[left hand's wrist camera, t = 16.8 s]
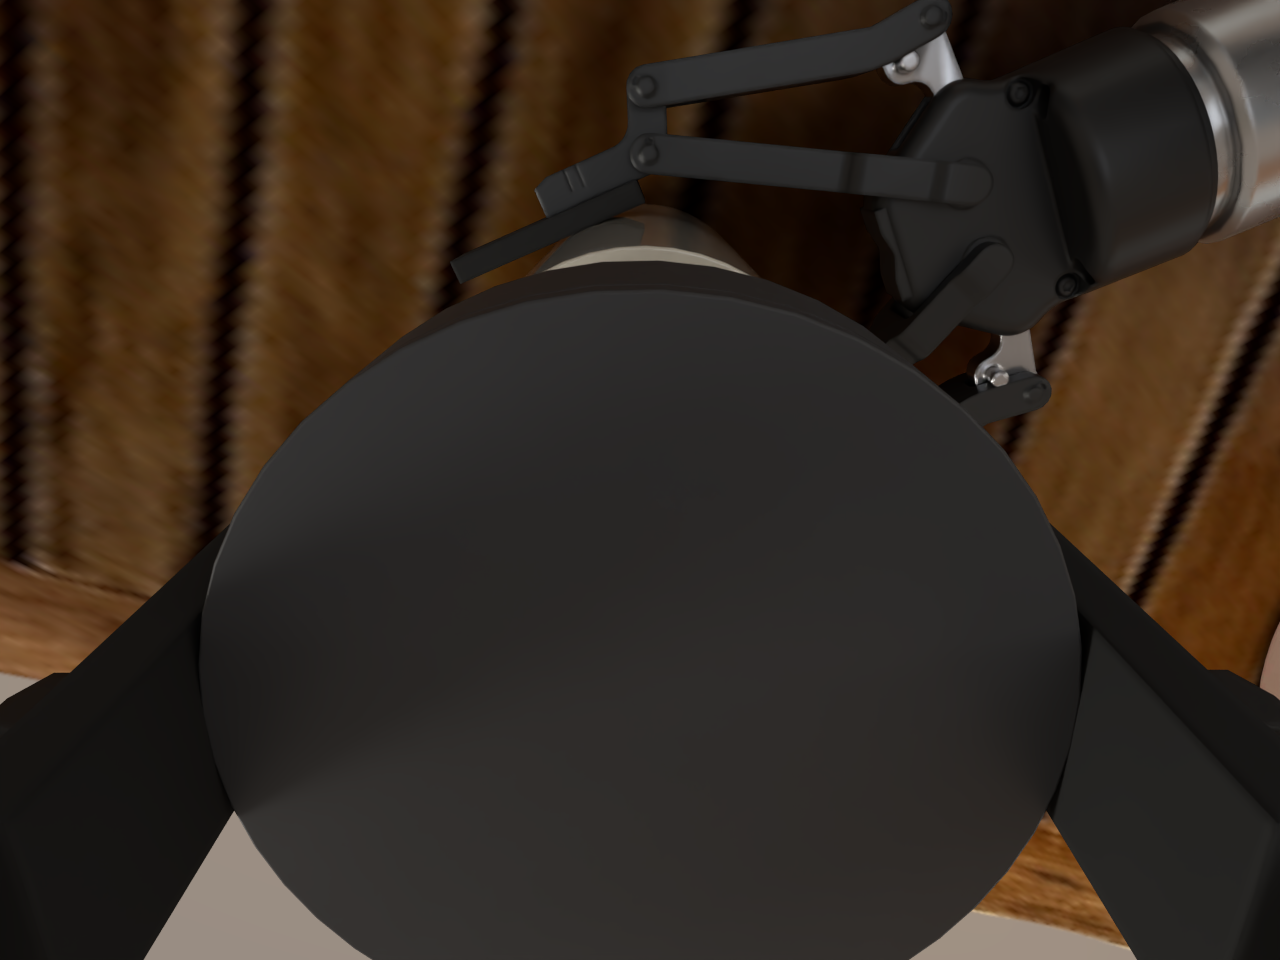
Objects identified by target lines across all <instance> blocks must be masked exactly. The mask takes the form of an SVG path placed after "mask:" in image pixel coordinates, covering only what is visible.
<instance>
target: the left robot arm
mask: <svg viewBox="0 0 1280 960" xmlns="http://www.w3.org/2000/svg"><path fill="white" fill-rule="evenodd" d="M1050 525H1051V524H1050ZM229 526H230V524H229V525H228V526H227V527H226V528H225V529H224V530H223V531H222V532H221V533H220V534H219V535H218V536H217V537H215V538H214V539H213V540H212V541H211V542H210V543H209V544H208V545H207V546H206V547H205V548H204V549H203V550H202V551H200V552H199V553H198V554H197V555H196V556H195V557H194V558H193V559H192V560H191V561H190V562H189V563H188V564H186V565H185V566H184V567H183V568H182V569H181V570H180V571H179V572H178V573H177V574H176V575H175V576H174V577H173V578H171V579H170V580H169V581H168V582H167V583H166V584H165V585H164V586H163V587H162V588H161V589H160V590H159V591H157V592H156V593H155V594H154V595H153V596H152V597H151V598H150V599H149V600H148V601H147V602H146V603H145V604H144V605H142V606H141V607H140V608H139V609H138V610H137V611H136V612H135V613H134V614H133V615H132V616H131V617H130V618H128V619H127V620H126V621H125V622H124V623H123V624H122V625H121V626H120V627H119V628H118V629H117V630H116V631H114V632H113V633H112V634H111V635H110V636H109V637H108V638H107V639H106V640H105V641H104V642H103V643H102V644H101V645H99V646H98V647H97V648H96V649H95V650H94V651H93V652H92V653H91V654H90V655H89V656H88V657H87V658H85V659H84V660H83V661H82V662H81V663H80V664H79V665H78V666H77V667H76V668H75V669H74V670H73V671H72V672H70V673H53V674H51V675H49V676H47V677H45V678H44V679H42V680H40V681H38V682H36V683H35V684H33V685H31V686H29V687H27V688H25V689H24V690H22V691H20V692H18V693H16V694H15V695H13V696H11V697H9V698H7V699H6V700H5V701H4V702H3V703H2V704H0V960H144V958H145V956H146V955H147V953H148V951H149V950H150V948H151V946H152V945H153V943H154V942H155V940H156V938H157V937H158V935H159V933H160V932H161V930H162V928H163V927H164V925H165V923H166V922H167V920H168V918H169V917H170V915H171V913H172V912H173V910H174V909H175V907H176V905H177V904H178V902H179V900H180V899H181V897H182V896H183V894H184V892H185V890H186V889H187V887H188V886H189V884H190V882H191V881H192V879H193V877H194V876H195V874H196V872H197V871H198V869H199V868H200V866H201V864H202V863H203V861H204V859H205V858H206V856H207V854H208V853H209V851H210V849H211V848H212V846H213V844H214V843H215V841H216V840H217V838H218V836H219V834H220V833H221V831H222V830H223V828H224V826H225V825H226V823H227V821H228V820H229V818H230V816H231V815H232V813H233V812H234V809H233V807H232V806H231V803H230V801H229V798H228V796H227V793H226V791H225V788H224V786H223V783H222V781H221V778H220V776H219V773H218V771H217V768H216V766H215V763H214V759H213V755H212V750H211V745H210V741H209V736H208V732H207V727H206V723H205V718H204V713H203V708H202V702H201V692H200V680H199V668H198V662H199V648H200V634H201V621H202V612H203V607H204V603H205V599H206V595H207V591H208V586H209V582H210V578H211V574H212V569H213V565H214V562H215V560H216V557H217V555H218V552H219V550H220V547H221V545H222V543H223V540H224V538H225V535H226V533H227V531H228V528H229ZM1051 527H1052V530H1053V532H1054V534H1055V536H1056V538H1057V540H1058V542H1059V544H1060V546H1061V550H1062V553H1063V556H1064V560H1065V563H1066V567H1067V570H1068V573H1069V577H1070V580H1071V583H1072V587H1073V590H1074V593H1075V598H1076V605H1077V613H1078V621H1079V628H1080V636H1081V644H1082V664H1081V697H1080V702H1079V707H1078V712H1077V717H1076V722H1075V727H1074V731H1073V736H1072V741H1071V746H1070V750H1069V754H1068V757H1067V760H1066V763H1065V766H1064V769H1063V772H1062V775H1061V778H1060V781H1059V784H1058V786H1057V789H1056V792H1055V794H1054V796H1053V798H1052V799H1051V801H1050V803H1049V805H1048V807H1047V809H1046V811H1047V812H1048V814H1049V816H1050V817H1051V819H1052V820H1053V822H1054V824H1055V825H1056V827H1057V829H1058V830H1059V832H1060V834H1061V835H1062V837H1063V839H1064V840H1065V842H1066V844H1067V845H1068V847H1069V848H1070V850H1071V852H1072V853H1073V855H1074V857H1075V858H1076V860H1077V862H1078V863H1079V865H1080V867H1081V868H1082V870H1083V871H1084V873H1085V875H1086V876H1087V878H1088V880H1089V881H1090V883H1091V885H1092V886H1093V888H1094V890H1095V891H1096V893H1097V895H1098V896H1099V898H1100V899H1101V901H1102V903H1103V904H1104V906H1105V908H1106V909H1107V911H1108V913H1109V914H1110V916H1111V918H1112V919H1113V921H1114V923H1115V924H1116V926H1117V927H1118V929H1119V931H1120V932H1121V934H1122V936H1123V937H1124V939H1125V941H1126V942H1127V944H1128V946H1129V947H1130V949H1131V951H1132V952H1133V954H1134V955H1135V957H1136V959H1137V960H1280V700H1279V699H1278V698H1277V697H1276V696H1274V695H1273V694H1271V693H1269V692H1267V691H1265V690H1263V689H1262V688H1260V687H1258V686H1256V685H1254V684H1252V683H1251V682H1249V681H1247V680H1245V679H1243V678H1242V677H1240V676H1238V675H1236V674H1234V673H1232V672H1231V671H1229V670H1207V669H1206V668H1205V667H1204V666H1203V665H1202V664H1201V663H1199V662H1198V661H1197V660H1196V659H1195V658H1194V657H1193V656H1192V655H1191V654H1190V653H1189V652H1188V651H1187V650H1185V649H1184V648H1183V647H1182V646H1181V645H1180V644H1179V643H1178V642H1177V641H1176V640H1175V639H1174V638H1173V637H1172V636H1170V635H1169V634H1168V633H1167V632H1166V631H1165V630H1164V629H1163V628H1162V627H1161V626H1160V625H1159V624H1158V623H1156V622H1155V621H1154V620H1153V619H1152V618H1151V617H1150V616H1149V615H1148V614H1147V613H1146V612H1145V611H1144V610H1143V609H1141V608H1140V607H1139V606H1138V605H1137V604H1136V603H1135V602H1134V601H1133V600H1132V599H1131V598H1130V597H1129V596H1127V595H1126V594H1125V593H1124V592H1123V591H1122V590H1121V589H1120V588H1119V587H1118V586H1117V585H1116V584H1115V583H1113V582H1112V581H1111V580H1110V579H1109V578H1108V577H1107V576H1106V575H1105V574H1104V573H1103V572H1102V571H1101V570H1100V569H1098V568H1097V567H1096V566H1095V565H1094V564H1093V563H1092V562H1091V561H1090V560H1089V559H1088V558H1087V557H1086V556H1084V555H1083V554H1082V553H1081V552H1080V551H1079V550H1078V549H1077V548H1076V547H1075V546H1074V545H1073V544H1072V543H1070V542H1069V541H1068V540H1067V539H1066V538H1065V537H1064V536H1063V535H1062V534H1061V533H1060V532H1059V531H1058V530H1057V529H1055V528H1054V527H1053V526H1052V525H1051Z"/></svg>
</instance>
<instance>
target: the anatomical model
mask: <svg viewBox="0 0 1280 960" xmlns="http://www.w3.org/2000/svg"><path fill="white" fill-rule="evenodd" d="M1260 688H1262V689H1263V690H1265V691H1267V692H1269V693H1271V694H1273V695H1274V696H1276V697H1277V698H1278V699H1279V700H1280V623H1279V624H1278V627H1277V629H1276V632H1275V634H1274V636H1273V639H1272V641H1271V644H1270V647H1269V650H1268V654H1267V657H1266V660H1265V664H1264V668H1263V672H1262V676H1261V682H1260Z"/></svg>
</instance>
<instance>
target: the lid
mask: <svg viewBox="0 0 1280 960" xmlns="http://www.w3.org/2000/svg"><path fill="white" fill-rule="evenodd" d="M1081 664H1082V644H1081V636H1080V628H1079V621H1078V613H1077V605H1076V598H1075V593H1074V590H1073V587H1072V583H1071V580H1070V577H1069V573H1068V570H1067V567H1066V563H1065V560H1064V556H1063V553H1062V550H1061V546H1060V544H1059V542H1058V540H1057V538H1056V536H1055V534H1054V532H1053V530H1052V527H1051V525H1050V523H1049V521H1048V519H1047V517H1046V515H1045V513H1044V511H1043V509H1042V507H1041V505H1040V503H1039V501H1038V498H1037V496H1036V495H1035V494H1034V492H1033V491H1032V489H1031V488H1030V486H1029V485H1028V483H1027V482H1026V481H1025V479H1024V478H1023V476H1022V475H1021V473H1020V472H1019V471H1018V469H1017V468H1016V466H1015V465H1014V463H1013V462H1012V460H1011V459H1010V458H1009V456H1008V455H1007V453H1006V452H1005V450H1004V449H1003V448H1002V447H1001V446H1000V445H999V444H998V443H997V442H996V441H995V440H994V439H993V438H992V437H991V436H990V434H989V433H988V432H987V431H986V430H985V429H984V428H983V427H982V426H981V425H980V424H979V423H978V422H977V421H976V420H975V419H974V418H973V417H972V416H971V414H970V413H969V412H968V411H967V410H966V409H965V408H964V407H963V406H962V405H960V404H959V403H958V402H957V401H956V400H954V399H953V398H952V397H951V396H949V395H948V394H947V393H946V392H945V391H943V390H942V389H941V388H940V387H939V386H937V385H936V384H935V383H934V382H932V381H931V380H930V379H929V378H928V377H926V376H925V375H924V374H923V373H921V372H920V371H919V370H918V369H917V368H915V367H914V366H913V365H912V364H911V363H909V362H908V361H907V360H906V359H904V358H903V357H902V356H901V355H899V354H898V353H897V352H896V351H894V350H893V349H892V348H890V347H889V346H888V345H887V344H885V343H884V342H883V341H881V340H880V339H879V338H878V337H876V336H875V335H874V334H872V333H871V332H870V331H869V330H867V329H866V328H865V327H863V326H862V325H860V324H858V323H857V322H855V321H853V320H851V319H850V318H848V317H846V316H844V315H843V314H841V313H839V312H837V311H836V310H834V309H832V308H830V307H829V306H827V305H825V304H823V303H822V302H820V301H818V300H816V299H813V298H811V297H808V296H806V295H803V294H801V293H798V292H796V291H793V290H791V289H789V288H786V287H784V286H781V285H779V284H776V283H774V282H771V281H769V280H765V279H761V278H757V277H753V276H749V275H745V274H741V273H737V272H733V271H729V270H725V269H721V268H717V267H713V266H704V265H695V264H686V263H677V262H668V261H659V260H656V261H613V262H598V263H591V264H585V265H579V266H573V267H566V268H560V269H554V270H548V271H544V272H541V273H538V274H534V275H531V276H528V277H524V278H521V279H518V280H514V281H511V282H508V283H504V284H501V285H498V286H495V287H493V288H490V289H488V290H486V291H484V292H482V293H479V294H477V295H475V296H473V297H471V298H469V299H466V300H464V301H462V302H460V303H458V304H455V305H453V306H451V307H449V308H447V309H445V310H444V311H442V312H440V313H439V314H437V315H436V316H434V317H433V318H431V319H429V320H428V321H426V322H425V323H423V324H422V325H420V326H419V327H417V328H415V329H414V330H412V331H411V332H409V333H408V334H406V335H405V336H403V337H402V338H400V339H399V340H398V341H397V342H395V343H394V344H393V345H392V346H391V347H389V348H388V349H387V350H386V351H385V352H383V353H382V354H381V355H380V356H378V357H377V358H376V359H375V360H374V361H372V362H371V363H370V364H369V365H367V366H366V367H365V368H364V369H363V370H361V371H360V372H359V373H358V374H357V375H355V376H354V377H353V378H352V379H350V380H349V381H348V382H347V383H346V384H344V385H343V386H342V387H341V388H340V389H339V390H338V391H336V392H335V393H334V394H333V395H332V396H331V397H329V398H328V399H327V400H326V401H325V402H324V403H323V404H321V405H320V406H319V407H318V408H317V409H316V410H314V411H313V412H312V413H311V414H310V415H309V416H308V417H306V418H305V419H304V420H303V421H302V422H301V423H300V424H299V425H298V426H297V428H296V429H295V430H294V431H293V432H292V434H291V435H290V436H289V437H288V438H287V439H286V441H285V442H284V443H283V444H282V445H281V446H280V448H279V449H278V450H277V451H276V452H275V453H274V455H273V456H272V457H271V458H270V459H269V460H268V462H267V463H266V464H265V465H264V467H263V468H262V470H261V471H260V473H259V475H258V476H257V478H256V480H255V481H254V483H253V484H252V486H251V488H250V489H249V491H248V493H247V494H246V496H245V497H244V499H243V501H242V502H241V504H240V506H239V507H238V509H237V510H236V512H235V514H234V516H233V519H232V521H231V523H230V526H229V528H228V531H227V533H226V535H225V538H224V540H223V543H222V545H221V547H220V550H219V552H218V555H217V557H216V560H215V562H214V565H213V569H212V574H211V578H210V582H209V586H208V591H207V595H206V599H205V603H204V607H203V612H202V621H201V634H200V648H199V662H198V668H199V680H200V692H201V702H202V708H203V713H204V718H205V723H206V727H207V732H208V736H209V741H210V745H211V750H212V755H213V759H214V763H215V766H216V768H217V771H218V773H219V776H220V778H221V781H222V783H223V786H224V788H225V791H226V793H227V796H228V798H229V801H230V803H231V806H232V807H233V809H234V811H235V812H236V814H237V816H238V818H239V819H240V821H241V823H242V825H243V826H244V828H245V830H246V832H247V833H248V835H249V837H250V839H251V840H252V842H253V844H254V846H255V847H256V849H257V850H258V851H259V852H260V854H261V855H262V856H263V858H264V859H265V860H266V862H267V863H268V864H269V866H270V867H271V868H272V869H273V871H274V872H275V873H276V875H277V876H278V877H279V879H280V880H281V881H282V883H283V884H284V885H285V886H286V887H287V888H288V889H289V890H290V891H291V892H292V893H293V894H294V895H295V896H296V897H297V898H298V899H299V900H300V901H301V902H302V903H303V904H304V905H305V906H306V907H307V908H308V910H309V911H310V912H311V913H312V914H313V915H314V916H315V917H316V918H317V919H319V920H320V921H321V922H322V923H324V924H325V925H326V926H327V927H329V928H330V929H331V930H332V931H333V932H335V933H336V934H337V935H338V936H340V937H341V938H342V939H343V940H345V941H346V942H347V943H348V944H350V945H351V946H352V947H353V948H355V949H356V950H358V951H359V952H361V953H363V954H364V955H366V956H367V957H369V958H370V959H372V960H909V959H911V958H912V957H914V956H915V955H917V954H918V953H919V952H921V951H922V950H924V949H925V948H927V947H928V946H929V945H931V944H932V943H934V942H935V941H937V940H938V939H940V938H941V937H942V936H943V935H944V934H945V933H947V932H948V931H949V930H950V929H951V928H952V927H953V926H955V925H956V924H957V923H958V922H959V921H960V920H961V919H963V918H964V917H965V916H966V915H967V914H968V913H969V912H971V911H972V910H973V909H974V908H975V907H976V906H977V905H978V904H979V903H980V902H981V901H982V899H983V898H984V897H985V896H986V895H987V894H988V893H989V892H990V891H991V889H992V888H993V887H994V886H995V885H996V884H997V883H998V882H999V881H1000V879H1001V878H1002V877H1003V876H1004V875H1005V874H1006V873H1007V872H1008V870H1009V869H1010V867H1011V866H1012V864H1013V863H1014V862H1015V860H1016V859H1017V857H1018V856H1019V854H1020V853H1021V851H1022V850H1023V849H1024V847H1025V846H1026V844H1027V843H1028V841H1029V840H1030V839H1031V837H1032V836H1033V834H1034V833H1035V831H1036V829H1037V827H1038V825H1039V823H1040V821H1041V819H1042V817H1043V815H1044V813H1045V811H1046V809H1047V807H1048V805H1049V803H1050V801H1051V799H1052V798H1053V796H1054V794H1055V792H1056V789H1057V786H1058V784H1059V781H1060V778H1061V775H1062V772H1063V769H1064V766H1065V763H1066V760H1067V757H1068V754H1069V750H1070V746H1071V741H1072V736H1073V731H1074V727H1075V722H1076V717H1077V712H1078V707H1079V702H1080V697H1081Z"/></svg>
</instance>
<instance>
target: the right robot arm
mask: <svg viewBox="0 0 1280 960" xmlns="http://www.w3.org/2000/svg"><path fill="white" fill-rule="evenodd" d="M951 19H952V9H951V5H950V3H949V2H948V0H917V1H915V2H913V3H912V4H910V5H908V6H906V7H904V8H903V9H901V10H899V11H897V12H896V13H894V14H892V15H890V16H889V17H887V18H885V19H884V20H882V21H880V22H878V23H877V24H875V25H873V26H871V27H868V28H862V29H856V30H850V31H844V32H838V33H832V34H826V35H820V36H814V37H808V38H802V39H796V40H790V41H784V42H777V43H771V44H765V45H759V46H753V47H747V48H741V49H735V50H729V51H723V52H717V53H711V54H705V55H699V56H693V57H687V58H681V59H675V60H669V61H663V62H657V63H651V64H645V65H641V66H639V67H636V68H635V69H634V70H633V71H632V72H631V73H630V75H629V77H628V80H627V107H628V128H627V132H626V134H625V136H624V138H623V140H622V141H621V142H620V143H619V144H617V145H616V146H614V147H612V148H610V149H608V150H606V151H603V152H601V153H599V154H597V155H595V156H592V157H590V158H588V159H586V160H583V161H581V162H579V163H577V164H575V165H572V166H570V167H568V168H566V169H564V170H561V171H559V172H557V173H555V174H552V175H550V176H548V177H546V178H545V179H544V180H543V181H542V182H541V183H540V184H539V185H538V186H537V188H536V189H535V192H536V195H537V197H538V199H539V202H540V204H541V206H542V208H543V211H544V213H545V215H546V218H544V219H541V220H539V221H537V222H535V223H532V224H530V225H528V226H525V227H523V228H521V229H519V230H516V231H514V232H512V233H510V234H507V235H505V236H503V237H501V238H498V239H496V240H494V241H492V242H489V243H487V244H485V245H483V246H480V247H478V248H476V249H474V250H471V251H469V252H467V253H465V254H463V255H461V256H460V257H458V258H456V259H454V260H453V261H451V262H450V263H451V265H452V267H453V269H454V271H455V274H456V276H457V278H458V280H459V282H460V284H461V283H463V282H466V281H468V280H470V279H473V278H475V277H477V276H479V275H482V274H484V273H486V272H488V271H491V270H493V269H495V268H498V267H500V266H502V265H504V264H507V263H509V262H511V261H514V260H516V259H518V258H520V257H523V256H525V255H527V254H530V253H532V252H534V251H536V250H539V249H541V248H543V247H546V246H548V245H550V244H552V243H555V242H557V241H559V240H562V239H564V238H566V237H568V236H571V235H573V234H575V233H578V232H580V231H582V230H584V229H586V228H588V227H591V226H593V225H596V224H598V223H600V222H603V221H605V220H607V219H609V218H612V217H614V216H616V215H619V214H621V213H623V212H625V211H628V210H630V209H632V208H635V207H637V206H639V205H641V204H644V203H645V198H644V196H643V193H642V191H641V188H640V186H639V183H638V180H639V179H641V178H643V177H645V176H648V175H650V174H654V175H665V176H675V177H686V178H696V179H706V180H717V181H727V182H738V183H748V184H759V185H769V186H779V187H790V188H800V189H811V190H821V191H831V192H841V193H850V194H859V195H864V207H862V208H860V210H861V214H862V217H863V220H864V223H865V226H866V229H867V231H868V232H869V234H870V235H871V237H872V238H873V240H874V241H875V243H876V244H877V246H878V248H879V253H880V273H881V276H882V279H883V283H884V286H885V289H886V292H887V293H888V294H890V295H892V296H893V297H892V299H891V300H890V301H889V302H888V303H887V304H886V305H885V306H884V307H883V308H882V310H881V311H880V312H879V313H878V314H877V315H876V317H875V319H874V320H873V323H872V326H871V328H870V329H869V331H870V332H871V333H872V334H874V335H875V336H876V337H878V338H879V339H880V340H881V341H883V342H884V343H885V344H887V345H888V346H889V347H890V348H892V349H893V350H894V351H896V352H897V353H898V354H899V355H901V356H902V357H903V358H904V359H906V360H907V361H908V362H909V363H911V364H912V365H913V364H914V363H916V362H918V361H920V360H923V359H924V358H926V357H927V356H928V355H929V354H930V353H932V351H933V350H934V349H935V348H936V347H937V346H938V345H939V344H940V343H941V342H942V341H943V340H944V339H945V338H946V337H947V336H948V335H949V334H950V332H951V331H952V330H953V329H954V328H955V327H956V326H957V325H959V326H963V327H967V328H972V329H976V330H980V331H984V332H988V333H991V340H990V343H989V344H988V346H987V347H986V348H985V349H984V350H983V351H982V352H980V353H979V354H977V355H975V356H974V357H973V358H972V359H970V361H969V363H968V365H967V369H966V373H963V374H960V375H958V376H956V377H954V378H952V379H949V380H947V381H946V382H944V383H942V384H941V385H939V387H940V388H941V389H942V390H943V391H945V392H946V393H947V394H948V395H949V396H951V397H952V398H953V399H954V400H956V401H957V402H958V403H959V404H960V405H962V406H963V407H964V408H965V409H966V410H967V411H968V412H969V413H970V414H971V416H972V417H973V418H974V419H975V420H976V421H977V422H978V423H979V424H980V425H981V426H982V427H983V426H985V425H986V424H988V423H991V422H994V421H998V420H1002V419H1005V418H1009V417H1012V416H1016V415H1019V414H1023V413H1026V412H1030V411H1034V410H1037V409H1039V408H1041V407H1043V406H1044V405H1045V404H1046V403H1047V402H1048V401H1049V398H1050V396H1051V389H1052V388H1051V386H1050V383H1049V382H1048V381H1047V380H1046V379H1045V378H1043V377H1041V376H1040V375H1038V374H1037V373H1036V369H1035V363H1034V356H1033V349H1032V343H1031V336H1030V330H1029V329H1031V328H1032V327H1033V326H1034V325H1036V324H1037V323H1038V321H1039V320H1040V319H1041V318H1042V317H1043V316H1044V315H1045V314H1046V313H1047V312H1048V311H1049V310H1051V309H1052V308H1053V307H1055V306H1056V305H1057V304H1059V303H1061V302H1063V301H1065V300H1068V299H1071V298H1074V297H1077V296H1079V295H1082V294H1085V293H1088V292H1091V291H1093V290H1096V289H1098V288H1101V287H1103V286H1106V285H1108V284H1111V283H1113V282H1116V281H1118V280H1121V279H1123V278H1126V277H1128V276H1131V275H1133V274H1136V273H1138V272H1141V271H1144V270H1146V269H1149V268H1151V267H1154V266H1156V265H1159V264H1161V263H1164V262H1166V261H1169V260H1171V259H1174V258H1176V257H1179V256H1182V255H1184V254H1185V253H1187V252H1189V251H1190V250H1191V249H1192V248H1193V247H1194V246H1195V245H1196V244H1197V242H1200V243H1205V244H1208V243H1213V242H1218V241H1222V240H1224V239H1227V238H1229V237H1231V236H1234V235H1236V234H1239V233H1241V232H1243V231H1246V230H1248V229H1251V228H1253V227H1256V226H1258V225H1260V224H1263V223H1265V222H1268V221H1270V220H1272V219H1275V218H1277V217H1280V0H1177V1H1175V2H1173V3H1170V4H1168V5H1166V6H1163V7H1161V8H1158V9H1156V10H1154V11H1152V12H1150V13H1148V14H1146V15H1144V16H1142V17H1141V18H1140V19H1139V20H1138V21H1137V22H1136V23H1135V24H1134V25H1133V26H1132V27H1131V28H1130V27H1116V28H1112V29H1110V30H1107V31H1105V32H1103V33H1100V34H1098V35H1096V36H1093V37H1091V38H1089V39H1087V40H1084V41H1082V42H1080V43H1077V44H1075V45H1073V46H1070V47H1068V48H1066V49H1063V50H1061V51H1059V52H1057V53H1054V54H1052V55H1050V56H1047V57H1045V58H1043V59H1040V60H1038V61H1036V62H1033V63H1031V64H1029V65H1027V66H1024V67H1022V68H1020V69H1017V70H1015V71H1013V72H1010V73H1008V74H1006V75H1003V76H1001V77H998V78H996V79H993V80H977V79H969V78H965V79H963V76H962V74H961V71H960V68H959V66H958V63H957V60H956V58H955V55H954V53H953V50H952V47H951V45H950V42H949V39H948V37H947V34H946V30H947V29H948V27H949V25H950V24H951ZM875 69H876V71H877V73H878V76H879V77H880V79H881V81H883V82H884V83H885V84H887V85H889V86H899V85H903V84H913V85H916V86H918V87H919V88H920V89H921V90H922V91H923V93H924V95H925V97H924V99H923V100H922V101H921V103H920V105H919V106H918V108H917V109H916V111H915V112H914V114H913V115H912V117H911V118H910V120H909V121H908V123H907V124H906V126H905V127H904V129H903V130H902V132H901V133H900V135H899V136H898V138H897V139H896V141H895V142H894V144H893V145H892V147H891V148H890V150H889V151H888V153H887V154H886V155H877V154H867V153H855V152H843V151H833V150H822V149H812V148H802V147H792V146H781V145H771V144H761V143H750V142H740V141H730V140H720V139H709V138H699V137H689V136H679V135H668V134H667V116H666V108H670V107H676V106H682V105H688V104H695V103H701V102H707V101H713V100H719V99H725V98H731V97H738V96H744V95H750V94H756V93H762V92H768V91H774V90H781V89H787V88H793V87H799V86H805V85H811V84H818V83H824V82H830V81H836V80H842V79H846V78H851V77H855V76H858V75H861V74H864V73H867V72H870V71H872V70H875Z"/></svg>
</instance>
